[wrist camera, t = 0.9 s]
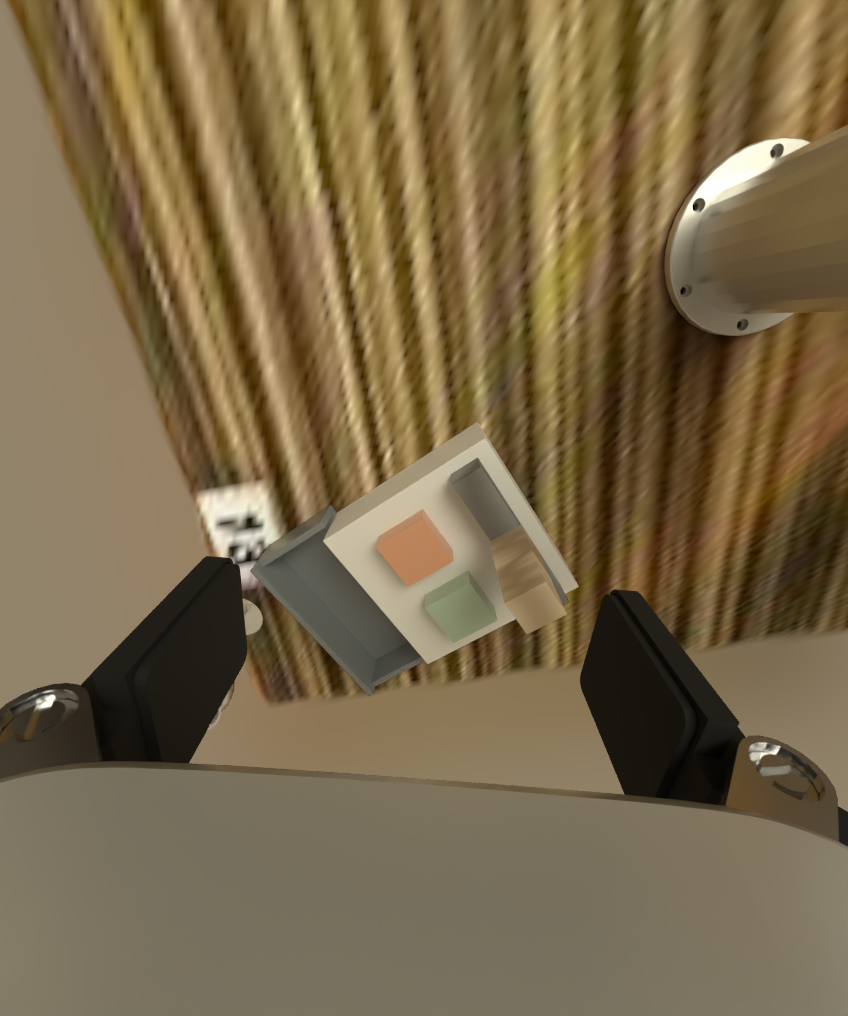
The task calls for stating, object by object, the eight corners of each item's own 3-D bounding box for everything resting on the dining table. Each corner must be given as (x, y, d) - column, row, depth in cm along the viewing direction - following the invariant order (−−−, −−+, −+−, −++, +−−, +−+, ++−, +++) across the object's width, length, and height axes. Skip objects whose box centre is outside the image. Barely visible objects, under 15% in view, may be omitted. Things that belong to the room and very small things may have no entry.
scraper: (479, 456, 34) (497, 509, 24) (562, 584, 38) (606, 673, 28) (449, 475, 34) (455, 534, 25) (534, 599, 39) (567, 690, 29)
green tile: (468, 570, 38) (469, 583, 36) (494, 606, 39) (497, 620, 37) (425, 594, 39) (424, 607, 37) (452, 628, 40) (453, 643, 38)
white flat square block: (477, 421, 39) (485, 438, 33) (560, 553, 44) (578, 586, 38) (337, 512, 42) (322, 540, 37) (428, 624, 47) (427, 664, 42)
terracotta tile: (422, 508, 36) (422, 519, 34) (452, 549, 37) (453, 561, 35) (378, 536, 37) (375, 547, 35) (409, 574, 38) (407, 587, 36)
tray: (330, 504, 42) (318, 527, 38) (433, 630, 48) (433, 663, 43) (269, 545, 44) (250, 571, 39) (375, 661, 50) (369, 696, 45)
